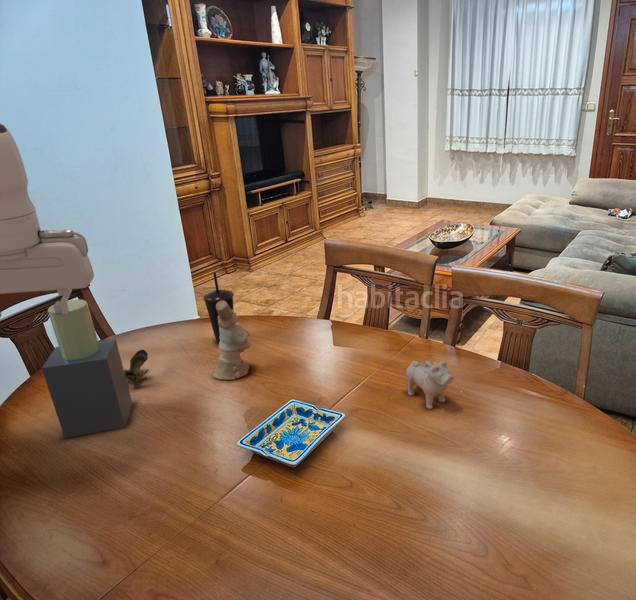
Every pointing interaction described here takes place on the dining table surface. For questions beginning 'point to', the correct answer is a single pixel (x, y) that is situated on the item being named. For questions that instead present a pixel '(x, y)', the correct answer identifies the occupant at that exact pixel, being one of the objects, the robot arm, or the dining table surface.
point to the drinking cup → (211, 302)
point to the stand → (89, 390)
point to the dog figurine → (429, 379)
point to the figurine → (230, 344)
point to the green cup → (75, 331)
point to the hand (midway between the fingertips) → (29, 315)
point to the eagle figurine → (137, 367)
